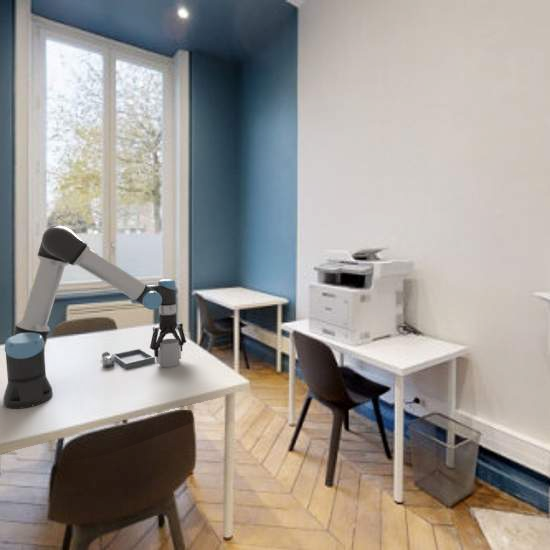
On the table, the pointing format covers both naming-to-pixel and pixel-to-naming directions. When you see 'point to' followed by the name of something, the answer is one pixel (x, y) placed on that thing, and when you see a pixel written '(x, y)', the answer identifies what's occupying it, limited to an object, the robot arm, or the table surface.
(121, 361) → the tray
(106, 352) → the rubber ball
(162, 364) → the mug
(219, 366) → the table surface
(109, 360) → the chrome bearing sphere
